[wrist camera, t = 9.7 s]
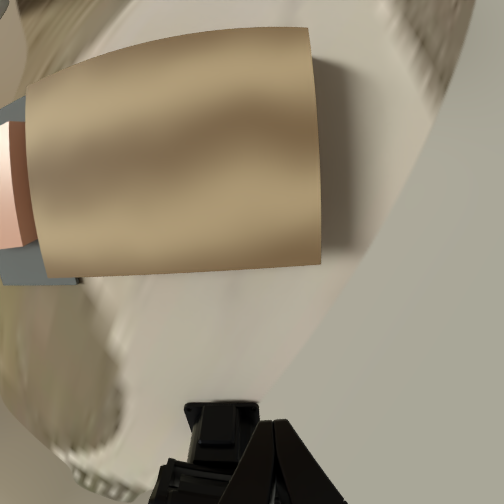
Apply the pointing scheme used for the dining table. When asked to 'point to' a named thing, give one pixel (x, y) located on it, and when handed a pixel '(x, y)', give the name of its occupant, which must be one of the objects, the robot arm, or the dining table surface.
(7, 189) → the salmon pink block
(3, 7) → the photo printer
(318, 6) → the dining table surface
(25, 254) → the mat
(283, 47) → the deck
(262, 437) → the robot arm
